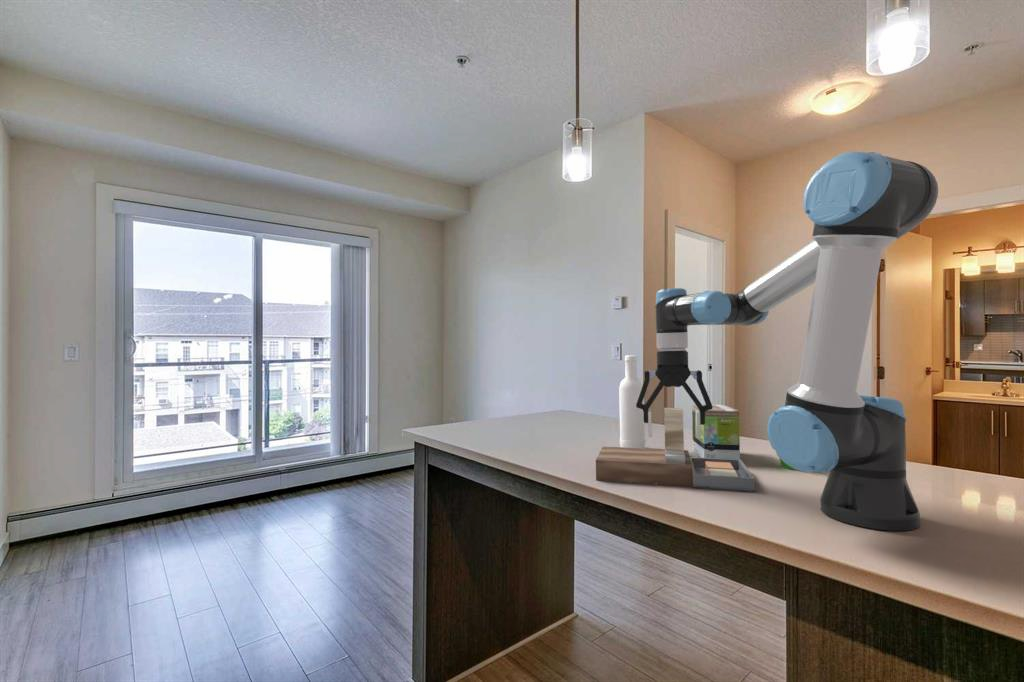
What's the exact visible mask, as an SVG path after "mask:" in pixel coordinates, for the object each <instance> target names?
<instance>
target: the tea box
mask: <svg viewBox="0 0 1024 682" xmlns="http://www.w3.org/2000/svg"><path fill="white" fill-rule="evenodd" d="M703 405H704V404H702V406H703ZM712 406H713V408H712V409H711V410H707V411H705V424H704V425H700V434H701V439H697V437H696V411H699V409H698V407H697V406H696V404H692V408H691V409H692V412H691V413H692V414H691V415H692V451H693V452H695V453H696V454H697V456H699V458H718V459H738V460H741V457H740V456H741V455H740V453H741V450H740V447H741V441H740V436H741V435H740V434H741V431H740V430H741V429H740V427H741V426H740V421H741V420H740V419H741V417H740V410H739V409H735V408H734V407H730V406H727V405H725V404H712Z"/></svg>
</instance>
